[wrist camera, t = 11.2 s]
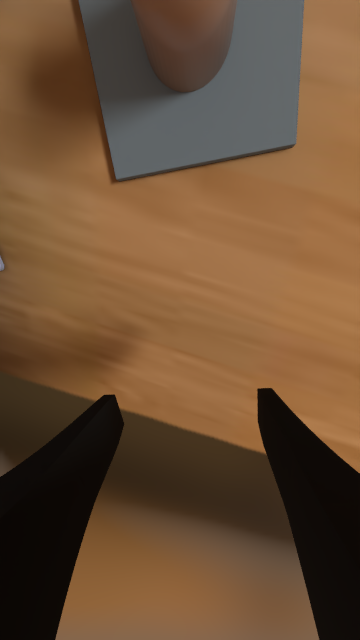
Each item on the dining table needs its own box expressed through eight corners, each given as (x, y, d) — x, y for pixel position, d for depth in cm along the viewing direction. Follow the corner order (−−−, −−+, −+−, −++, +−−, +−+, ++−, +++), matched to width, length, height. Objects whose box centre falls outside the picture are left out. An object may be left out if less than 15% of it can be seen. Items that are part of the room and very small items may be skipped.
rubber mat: (119, 181, 15) (116, 179, 15) (64, -83, 11) (57, -100, 10) (292, 147, 13) (296, 143, 13) (309, -184, 9) (315, -211, 9)
